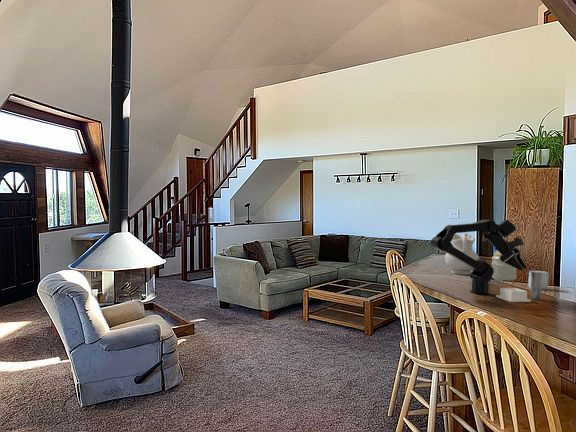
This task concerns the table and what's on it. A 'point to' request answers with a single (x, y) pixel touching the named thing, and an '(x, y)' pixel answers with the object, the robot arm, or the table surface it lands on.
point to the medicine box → (544, 279)
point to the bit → (536, 285)
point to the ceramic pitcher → (466, 247)
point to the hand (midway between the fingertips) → (524, 268)
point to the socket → (513, 295)
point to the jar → (502, 269)
